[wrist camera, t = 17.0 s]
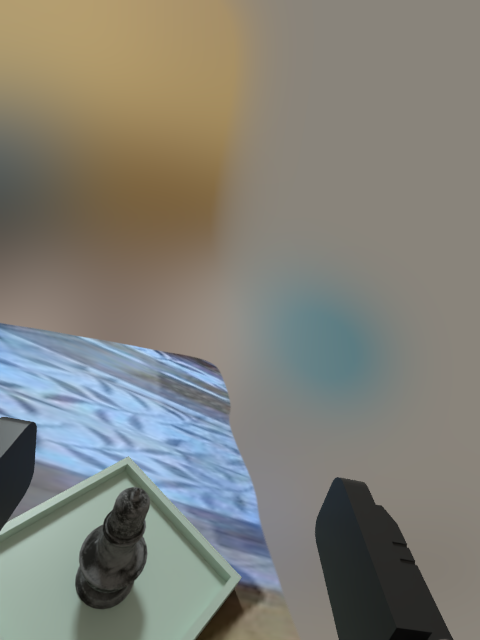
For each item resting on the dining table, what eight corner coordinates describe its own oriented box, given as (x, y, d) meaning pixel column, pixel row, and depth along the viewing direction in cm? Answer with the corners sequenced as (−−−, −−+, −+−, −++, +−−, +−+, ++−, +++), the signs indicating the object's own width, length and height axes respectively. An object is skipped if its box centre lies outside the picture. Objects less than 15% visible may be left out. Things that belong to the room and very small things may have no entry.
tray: (63, 812, 22) (69, 800, 21) (-57, 571, 30) (-56, 556, 29) (234, 588, 38) (241, 577, 37) (124, 467, 45) (128, 456, 45)
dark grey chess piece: (150, 576, 35) (188, 492, 30) (99, 630, 30) (135, 539, 25) (111, 533, 37) (141, 448, 33) (57, 576, 32) (83, 483, 28)
